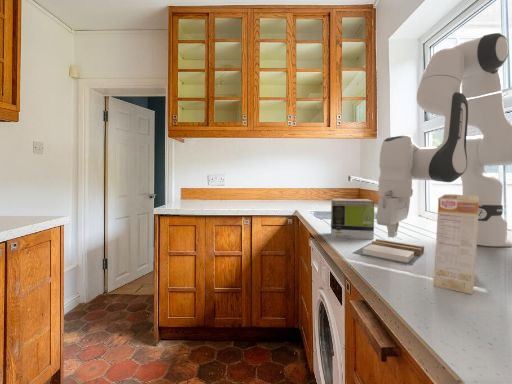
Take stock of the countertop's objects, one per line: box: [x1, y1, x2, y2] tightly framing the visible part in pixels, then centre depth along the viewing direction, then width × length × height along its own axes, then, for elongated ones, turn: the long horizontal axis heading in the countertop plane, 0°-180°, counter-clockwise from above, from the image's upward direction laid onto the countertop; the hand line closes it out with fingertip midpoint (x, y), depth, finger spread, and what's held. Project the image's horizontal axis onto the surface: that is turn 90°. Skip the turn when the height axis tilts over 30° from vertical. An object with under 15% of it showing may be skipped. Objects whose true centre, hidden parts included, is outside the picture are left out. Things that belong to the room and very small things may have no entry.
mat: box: [352, 242, 424, 266], centre depth 83 cm, size 17×16×1 cm
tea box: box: [330, 198, 375, 240], centre depth 106 cm, size 15×10×15 cm, turn 77°
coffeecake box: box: [433, 193, 479, 295], centre depth 63 cm, size 15×7×20 cm, turn 141°
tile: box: [362, 244, 414, 265], centre depth 79 cm, size 2×12×7 cm
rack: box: [371, 238, 425, 257], centre depth 87 cm, size 5×14×2 cm, turn 49°
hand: (392, 236), depth 82 cm, fingers closed
